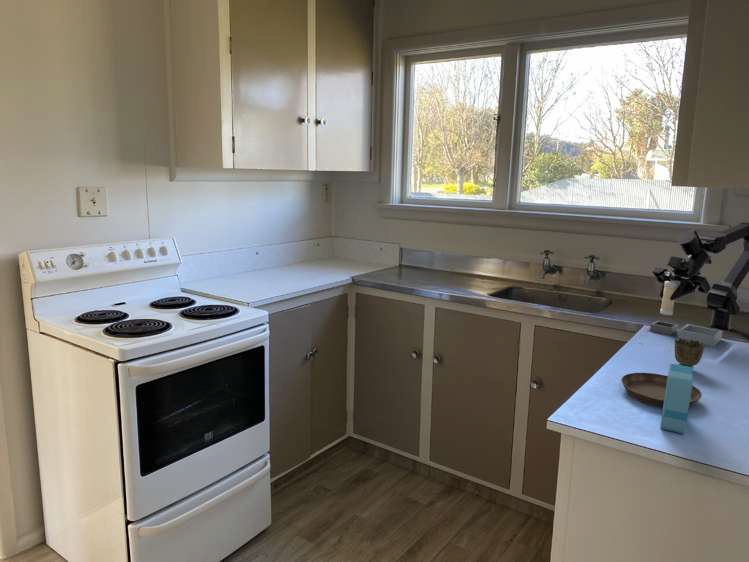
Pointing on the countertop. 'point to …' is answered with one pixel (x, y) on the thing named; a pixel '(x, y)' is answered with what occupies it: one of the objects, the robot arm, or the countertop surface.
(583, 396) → the countertop surface
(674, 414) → the data package
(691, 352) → the cup
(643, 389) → the plant saucer
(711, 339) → the tray
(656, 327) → the tray
